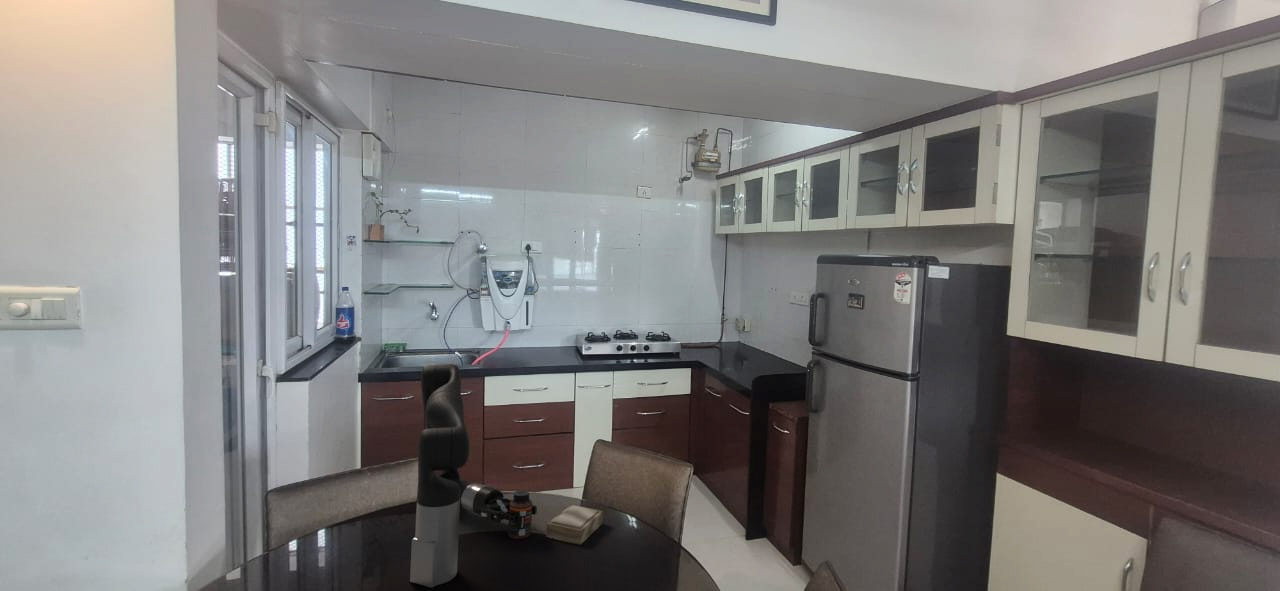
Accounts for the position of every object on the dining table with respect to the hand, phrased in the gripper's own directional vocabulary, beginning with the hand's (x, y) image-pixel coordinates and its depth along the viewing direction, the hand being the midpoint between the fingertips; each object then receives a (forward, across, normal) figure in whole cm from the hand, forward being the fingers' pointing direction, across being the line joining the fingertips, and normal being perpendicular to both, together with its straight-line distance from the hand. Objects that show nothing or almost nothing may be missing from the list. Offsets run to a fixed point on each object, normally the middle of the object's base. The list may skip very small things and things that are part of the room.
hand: (527, 514), depth 140 cm
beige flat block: (+8, +11, +6) cm, 15 cm away
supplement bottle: (-2, 0, +6) cm, 7 cm away
